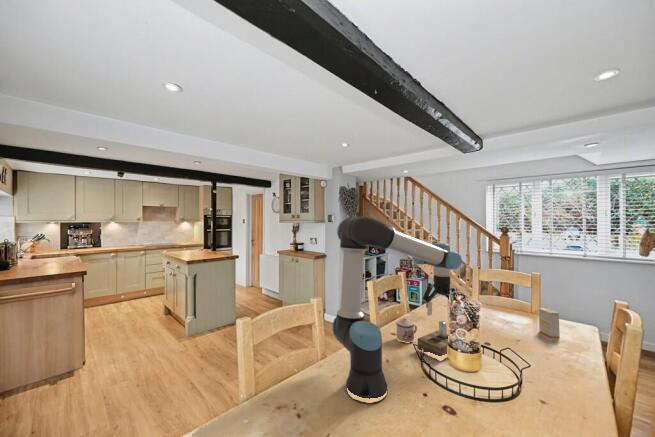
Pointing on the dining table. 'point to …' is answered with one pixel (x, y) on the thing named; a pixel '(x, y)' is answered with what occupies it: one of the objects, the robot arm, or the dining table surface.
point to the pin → (443, 330)
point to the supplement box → (549, 322)
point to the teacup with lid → (405, 330)
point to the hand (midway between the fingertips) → (442, 319)
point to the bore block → (433, 344)
